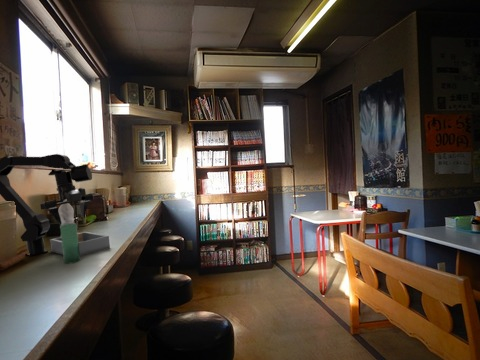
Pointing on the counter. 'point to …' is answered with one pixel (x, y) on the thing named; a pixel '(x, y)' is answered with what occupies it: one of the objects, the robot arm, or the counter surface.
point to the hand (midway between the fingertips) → (72, 221)
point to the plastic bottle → (66, 213)
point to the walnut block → (79, 237)
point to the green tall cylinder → (70, 243)
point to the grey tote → (84, 243)
